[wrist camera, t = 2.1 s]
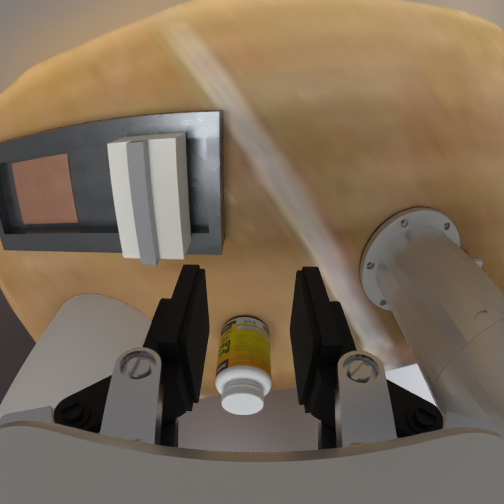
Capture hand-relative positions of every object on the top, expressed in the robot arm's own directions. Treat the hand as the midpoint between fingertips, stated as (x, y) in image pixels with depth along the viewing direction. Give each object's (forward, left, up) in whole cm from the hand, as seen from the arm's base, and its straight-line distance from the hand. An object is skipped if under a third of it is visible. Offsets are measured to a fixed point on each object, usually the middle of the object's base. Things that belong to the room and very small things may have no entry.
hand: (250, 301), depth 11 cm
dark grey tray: (+16, 0, -17) cm, 23 cm away
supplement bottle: (+1, +18, -17) cm, 25 cm away
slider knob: (+7, 0, -15) cm, 17 cm away
